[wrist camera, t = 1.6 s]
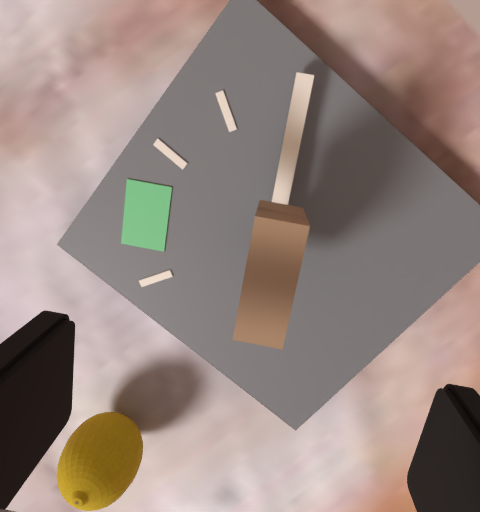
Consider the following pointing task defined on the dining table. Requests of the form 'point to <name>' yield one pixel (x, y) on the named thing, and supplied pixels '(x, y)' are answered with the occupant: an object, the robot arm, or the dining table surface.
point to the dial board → (261, 188)
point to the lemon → (99, 461)
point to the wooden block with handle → (276, 242)
